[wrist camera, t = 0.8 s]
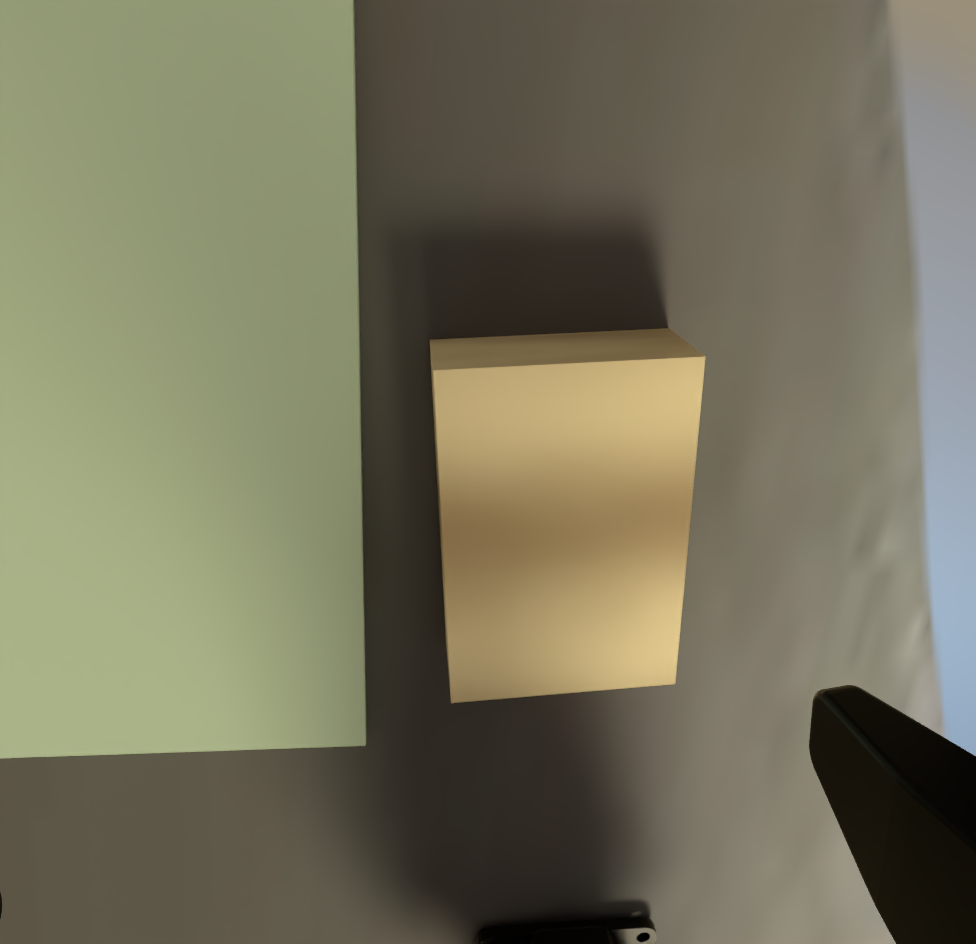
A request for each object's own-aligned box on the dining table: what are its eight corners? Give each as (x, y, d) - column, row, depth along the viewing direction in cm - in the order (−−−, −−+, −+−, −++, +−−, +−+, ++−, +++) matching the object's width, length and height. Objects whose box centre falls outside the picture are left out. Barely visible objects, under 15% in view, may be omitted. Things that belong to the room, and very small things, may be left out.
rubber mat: (366, 733, 24) (365, 745, 23) (-207, 752, 22) (-220, 765, 22) (351, -160, 15) (350, -169, 15) (-607, -249, 13) (-643, -262, 13)
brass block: (643, 619, 24) (674, 683, 21) (445, 635, 23) (451, 702, 20) (664, 325, 20) (705, 356, 17) (429, 336, 19) (432, 370, 17)
